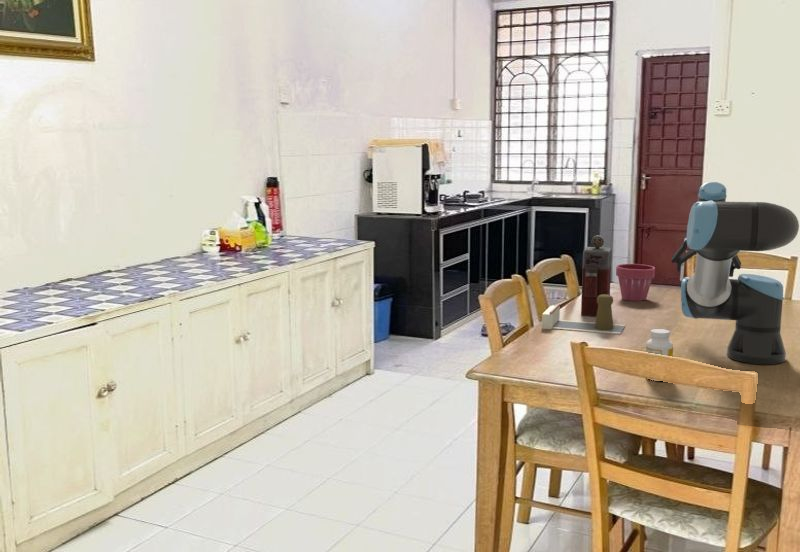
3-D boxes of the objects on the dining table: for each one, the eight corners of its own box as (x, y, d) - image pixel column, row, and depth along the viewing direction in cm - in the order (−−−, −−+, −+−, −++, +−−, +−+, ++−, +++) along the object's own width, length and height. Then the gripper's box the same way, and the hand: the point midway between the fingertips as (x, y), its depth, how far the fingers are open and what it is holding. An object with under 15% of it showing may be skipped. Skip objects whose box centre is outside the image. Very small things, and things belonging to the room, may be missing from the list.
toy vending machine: (580, 317, 276) (582, 237, 271) (584, 310, 286) (586, 233, 281) (606, 318, 273) (609, 238, 268) (609, 311, 283) (612, 234, 278)
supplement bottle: (666, 374, 209) (668, 327, 207) (675, 382, 203) (678, 333, 200) (641, 375, 209) (643, 328, 207) (649, 383, 202) (652, 334, 200)
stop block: (551, 329, 259) (551, 312, 258) (541, 328, 260) (542, 311, 259) (559, 320, 272) (559, 303, 271) (550, 319, 273) (551, 303, 272)
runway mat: (620, 334, 251) (620, 333, 251) (551, 328, 260) (551, 327, 260) (625, 326, 262) (625, 325, 262) (558, 320, 271) (558, 319, 271)
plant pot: (657, 297, 307) (659, 265, 305) (648, 304, 295) (649, 270, 293) (621, 294, 315) (622, 262, 312) (610, 300, 303) (611, 267, 301)
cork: (592, 328, 258) (593, 295, 256) (597, 324, 263) (598, 292, 261) (611, 330, 255) (612, 297, 253) (615, 326, 260) (616, 294, 258)
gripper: (754, 224, 237) (747, 277, 250) (667, 217, 246) (664, 268, 260) (753, 240, 232) (745, 293, 245) (664, 232, 241) (661, 283, 255)
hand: (704, 280), depth 253 cm, fingers open, 13 cm apart
